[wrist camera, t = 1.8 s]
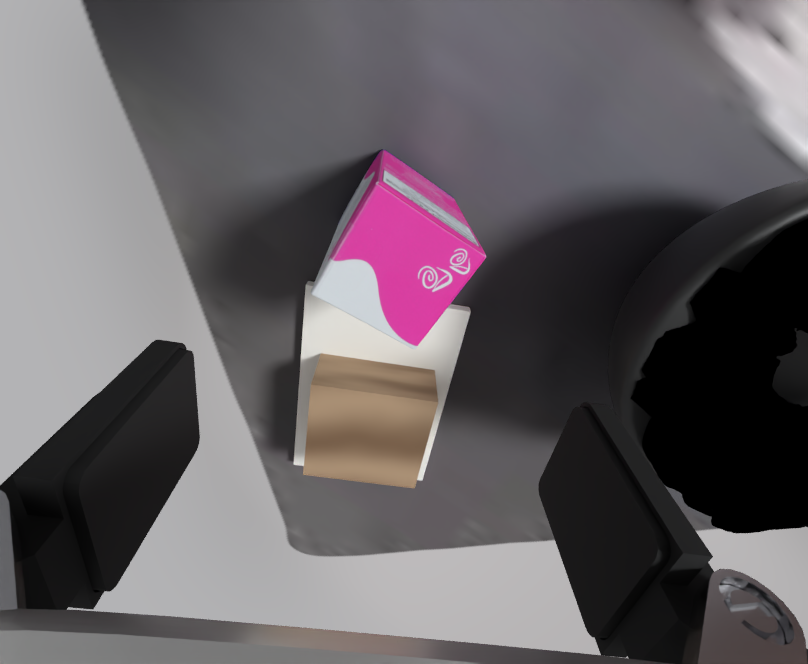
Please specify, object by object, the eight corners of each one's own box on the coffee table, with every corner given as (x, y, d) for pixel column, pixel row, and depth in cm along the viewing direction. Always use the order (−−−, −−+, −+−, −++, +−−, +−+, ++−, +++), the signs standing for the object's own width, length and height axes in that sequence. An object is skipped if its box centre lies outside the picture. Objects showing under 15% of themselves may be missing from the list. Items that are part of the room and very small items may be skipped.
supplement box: (409, 268, 30) (412, 356, 20) (336, 223, 28) (299, 293, 18) (458, 199, 27) (490, 258, 17) (382, 144, 26) (368, 175, 16)
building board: (308, 280, 30) (305, 285, 29) (469, 307, 31) (470, 311, 30) (295, 457, 39) (293, 464, 38) (421, 473, 40) (422, 480, 39)
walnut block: (320, 353, 32) (310, 384, 29) (434, 370, 33) (438, 402, 30) (312, 438, 37) (303, 474, 33) (413, 451, 37) (414, 488, 34)
